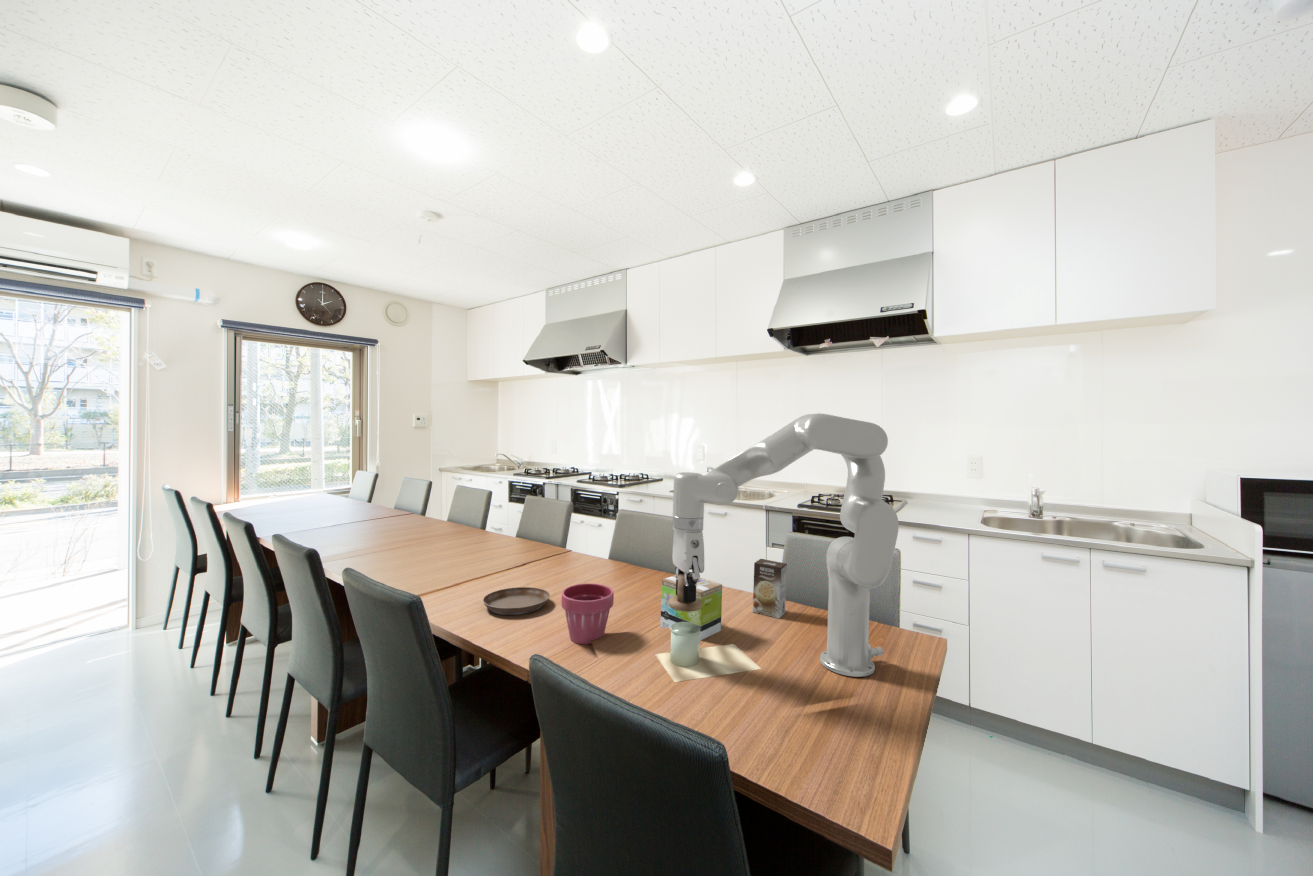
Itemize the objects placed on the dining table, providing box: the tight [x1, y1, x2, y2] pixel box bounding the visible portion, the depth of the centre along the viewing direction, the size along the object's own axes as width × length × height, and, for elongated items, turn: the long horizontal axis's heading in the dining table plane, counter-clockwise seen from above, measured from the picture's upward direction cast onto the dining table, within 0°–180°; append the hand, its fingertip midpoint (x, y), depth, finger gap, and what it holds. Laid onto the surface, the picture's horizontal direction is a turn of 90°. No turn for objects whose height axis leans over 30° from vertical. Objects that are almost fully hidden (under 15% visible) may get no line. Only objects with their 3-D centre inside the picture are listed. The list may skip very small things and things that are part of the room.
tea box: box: [660, 574, 723, 641], centre depth 138 cm, size 15×10×15 cm, turn 47°
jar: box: [670, 622, 701, 667], centre depth 118 cm, size 7×7×8 cm
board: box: [654, 643, 762, 683], centre depth 118 cm, size 22×14×1 cm, turn 109°
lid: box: [669, 574, 702, 612], centre depth 118 cm, size 8×8×7 cm
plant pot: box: [561, 582, 615, 645], centre depth 132 cm, size 14×14×13 cm
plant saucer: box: [482, 586, 551, 616], centre depth 155 cm, size 21×21×3 cm
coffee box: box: [752, 558, 788, 619], centre depth 154 cm, size 9×6×16 cm
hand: (685, 597), depth 118 cm, fingers closed on lid, 4 cm apart
